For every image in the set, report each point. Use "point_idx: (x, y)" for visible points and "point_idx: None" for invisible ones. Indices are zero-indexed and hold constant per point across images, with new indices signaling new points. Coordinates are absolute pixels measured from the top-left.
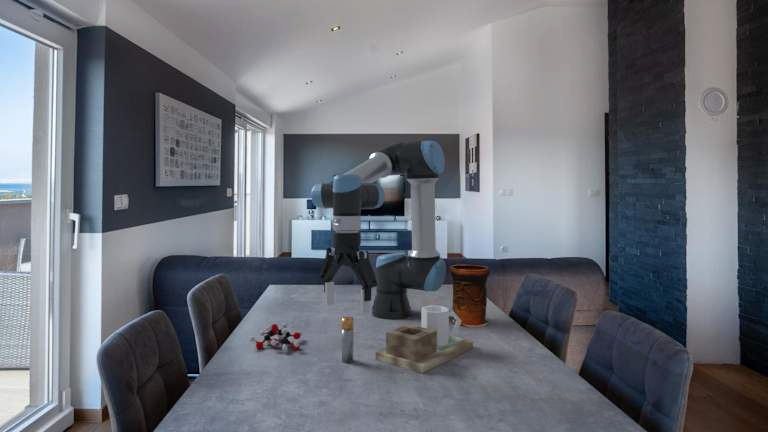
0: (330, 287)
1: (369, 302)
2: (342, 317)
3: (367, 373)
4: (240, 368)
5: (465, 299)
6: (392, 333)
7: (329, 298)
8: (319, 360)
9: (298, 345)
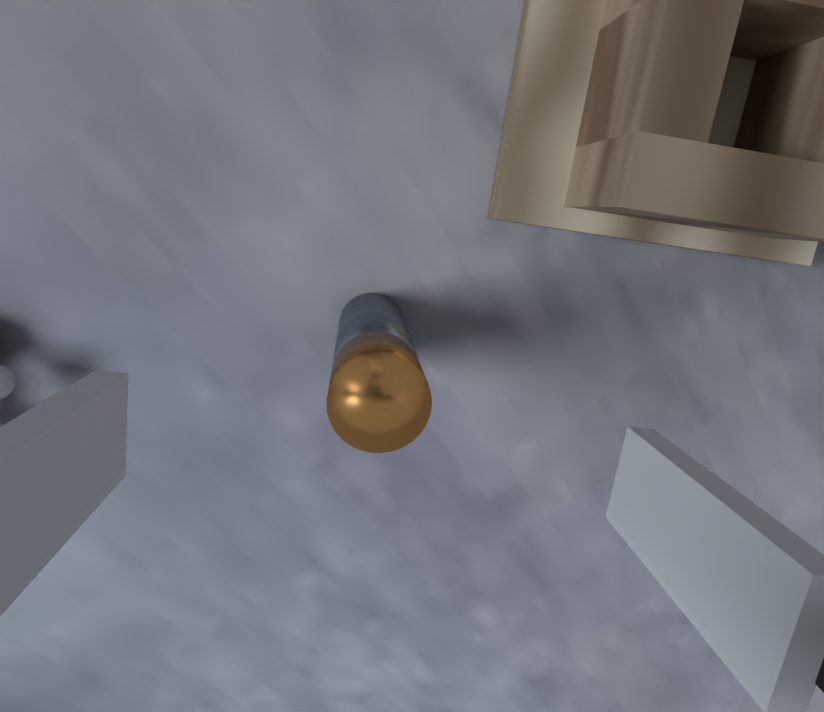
0: (5, 540)
1: (709, 471)
2: (328, 410)
3: (549, 399)
4: (4, 667)
5: None
6: (677, 209)
7: (91, 478)
8: (237, 398)
9: (14, 380)
